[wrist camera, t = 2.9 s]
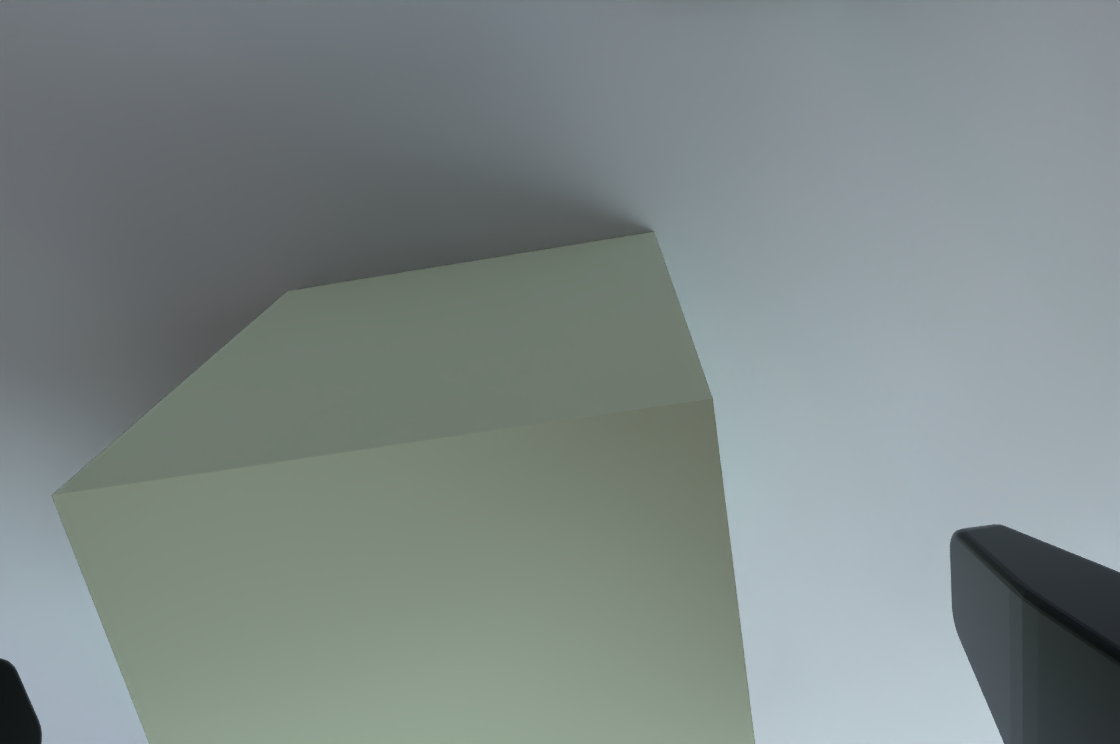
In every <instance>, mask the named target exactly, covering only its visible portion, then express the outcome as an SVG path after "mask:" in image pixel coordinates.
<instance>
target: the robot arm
mask: <svg viewBox="0 0 1120 744" xmlns="http://www.w3.org/2000/svg"><path fill="white" fill-rule="evenodd" d="M950 563H951V592H952V612H953V618H954V623H955V627H956V630H957V633H958V636H959V639H960V641H961V643H962V646H963V648H964V650H965V653H966V655H967V657H968V660H969V662H970V664H971V667H972V669H973V671H974V674H975V676H976V678H977V681H978V683H979V685H980V688H981V690H982V692H983V695H984V697H985V699H986V702H987V704H988V707H989V709H990V711H991V714H992V716H993V718H994V721H995V723H996V725H997V728H998V730H999V732H1000V735H1001V737H1002V739H1003V742H1004V744H1120V572H1118V571H1115V570H1113V569H1110V568H1108V567H1105V566H1103V565H1100V564H1098V563H1095V562H1093V561H1090V560H1088V559H1085V558H1083V557H1080V556H1078V555H1075V554H1073V553H1070V552H1068V551H1065V550H1063V549H1060V548H1058V547H1056V546H1053V545H1051V544H1048V543H1046V542H1043V541H1041V540H1038V539H1036V538H1033V537H1031V536H1028V535H1026V534H1023V533H1021V532H1018V531H1016V530H1013V529H1011V528H1008V527H1006V526H1003V525H995V524H993V525H986V526H979V527H971V528H964V529H960V530H957V531H956V532H955V533H954V534H953V535H952V538H951V542H950ZM41 742H42V732H41V725H40V723H39V720H38V718H37V715H36V713H35V711H34V708H33V706H32V704H31V702H30V699H29V697H28V695H27V693H26V690H25V688H24V686H23V683H22V681H21V679H20V677H19V674H18V672H17V670H16V668H15V667H14V666H13V665H12V664H11V663H10V662H9V661H7V660H4V659H1V658H0V744H41Z"/></svg>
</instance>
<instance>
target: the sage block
mask: <svg viewBox="0 0 1120 744" xmlns="http://www.w3.org/2000/svg"><path fill="white" fill-rule="evenodd" d="M52 498H53V501H54V503H55V506H56V508H57V511H58V513H59V516H60V518H61V521H62V523H63V526H64V529H65V531H66V534H67V536H68V539H69V541H70V544H71V546H72V549H73V551H74V554H75V556H76V559H77V562H78V564H79V567H80V569H81V572H82V574H83V577H84V579H85V582H86V584H87V587H88V589H89V592H90V595H91V597H92V600H93V602H94V605H95V607H96V610H97V612H98V615H99V617H100V620H101V622H102V625H103V628H104V630H105V633H106V635H107V638H108V640H109V643H110V645H111V648H112V650H113V653H114V656H115V658H116V661H117V663H118V666H119V668H120V671H121V673H122V676H123V678H124V681H125V683H126V686H127V689H128V691H129V694H130V696H131V699H132V701H133V704H134V706H135V709H136V711H137V714H138V716H139V719H140V722H141V724H142V727H143V729H144V732H145V734H146V737H147V739H148V742H149V744H755V739H754V731H753V723H752V715H751V707H750V699H749V690H748V682H747V674H746V666H745V658H744V650H743V642H742V633H741V625H740V617H739V609H738V601H737V593H736V585H735V576H734V568H733V560H732V552H731V544H730V536H729V528H728V520H727V511H726V503H725V495H724V487H723V479H722V471H721V463H720V454H719V446H718V438H717V430H716V422H715V414H714V406H713V398H712V395H711V392H710V389H709V387H708V384H707V381H706V378H705V375H704V372H703V369H702V367H701V364H700V361H699V358H698V355H697V352H696V349H695V347H694V344H693V341H692V338H691V335H690V332H689V329H688V327H687V324H686V321H685V318H684V315H683V312H682V309H681V307H680V304H679V301H678V298H677V295H676V292H675V289H674V287H673V284H672V281H671V278H670V275H669V272H668V269H667V267H666V264H665V261H664V258H663V255H662V252H661V249H660V247H659V244H658V241H657V238H656V235H655V232H648V233H642V234H636V235H629V236H623V237H617V238H611V239H605V240H599V241H592V242H586V243H580V244H574V245H568V246H562V247H555V248H549V249H543V250H537V251H531V252H525V253H518V254H512V255H506V256H500V257H494V258H488V259H481V260H475V261H469V262H463V263H457V264H451V265H444V266H438V267H432V268H426V269H420V270H414V271H407V272H401V273H395V274H389V275H383V276H377V277H371V278H364V279H358V280H352V281H346V282H340V283H334V284H327V285H321V286H315V287H309V288H303V289H297V290H290V291H287V292H286V293H285V294H283V295H282V296H281V297H280V298H279V299H278V300H276V301H275V302H274V303H273V304H272V305H271V306H270V307H268V308H267V309H266V310H265V311H264V312H263V313H261V314H260V315H259V316H258V317H257V318H256V319H255V320H253V321H252V322H251V323H250V324H249V325H248V326H246V327H245V328H244V329H243V330H242V331H241V332H240V333H238V334H237V335H236V336H235V337H234V338H233V339H231V340H230V341H229V342H228V343H227V344H226V345H225V346H223V347H222V348H221V349H220V350H219V351H218V352H216V353H215V354H214V355H213V356H212V357H211V358H209V359H208V360H207V361H206V362H205V363H204V364H203V365H201V366H200V367H199V368H198V369H197V370H196V371H194V372H193V373H192V374H191V375H190V376H189V377H188V378H186V379H185V380H184V381H183V382H182V383H181V384H179V385H178V386H177V387H176V388H175V389H174V390H173V391H171V392H170V393H169V394H168V395H167V396H166V397H164V398H163V399H162V400H161V401H160V402H159V403H158V404H156V405H155V406H154V407H153V408H152V409H151V410H149V411H148V412H147V413H146V414H145V415H144V416H143V417H141V418H140V419H139V420H138V421H137V422H136V423H134V424H133V425H132V426H131V427H130V428H129V429H128V430H126V431H125V432H124V433H123V434H122V435H121V436H119V437H118V438H117V439H116V440H115V441H114V442H113V443H111V444H110V445H109V446H108V447H107V448H106V449H104V450H103V451H102V452H101V453H100V454H99V455H98V456H96V457H95V458H94V459H93V460H92V461H91V462H89V463H88V464H87V465H86V466H85V467H84V468H83V469H81V470H80V471H79V472H78V473H77V474H76V475H74V476H73V477H72V478H71V479H70V480H69V481H68V482H66V483H65V484H64V485H63V486H62V487H61V488H59V489H58V490H57V491H56V492H55V493H54V494H53V495H52Z"/></svg>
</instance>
